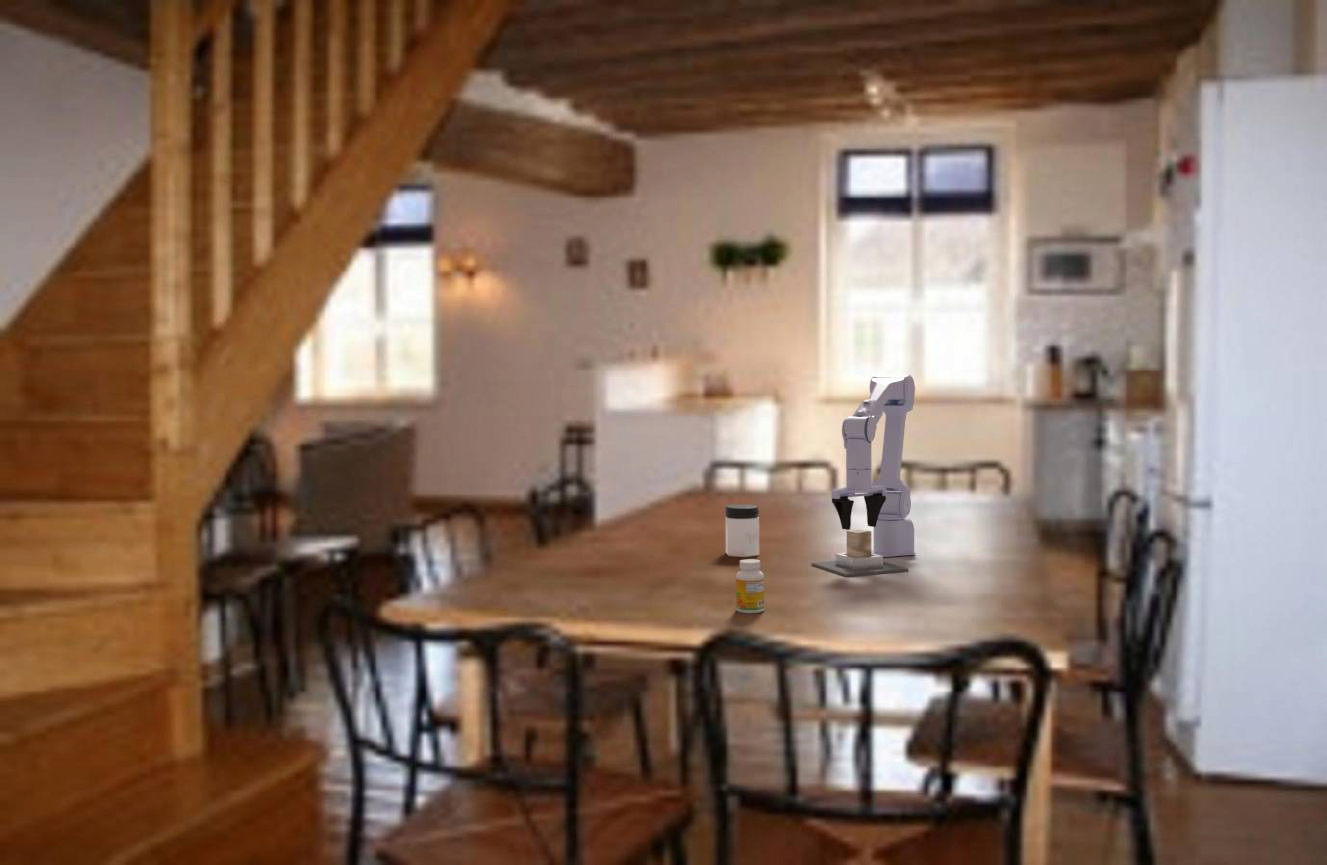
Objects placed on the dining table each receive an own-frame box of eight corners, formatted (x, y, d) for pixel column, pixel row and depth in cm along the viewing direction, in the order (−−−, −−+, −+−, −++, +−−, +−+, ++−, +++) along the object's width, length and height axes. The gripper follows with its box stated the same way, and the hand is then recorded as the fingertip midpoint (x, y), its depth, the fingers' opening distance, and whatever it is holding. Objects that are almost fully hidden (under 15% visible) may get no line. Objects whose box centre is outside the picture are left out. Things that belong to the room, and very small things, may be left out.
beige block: (860, 563, 271) (860, 529, 270) (871, 565, 267) (871, 531, 267) (846, 565, 269) (846, 530, 268) (857, 567, 265) (857, 532, 265)
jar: (738, 558, 283) (737, 509, 283) (718, 553, 290) (717, 506, 289) (766, 554, 288) (766, 506, 287) (746, 550, 295) (746, 503, 294)
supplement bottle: (734, 608, 227) (733, 558, 227) (761, 607, 228) (761, 557, 227) (738, 614, 222) (738, 563, 221) (766, 613, 222) (766, 562, 222)
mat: (871, 560, 278) (870, 557, 278) (908, 571, 263) (908, 568, 263) (811, 565, 273) (811, 562, 272) (846, 576, 258) (846, 574, 258)
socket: (865, 561, 273) (865, 550, 273) (882, 566, 266) (882, 556, 266) (835, 564, 270) (835, 553, 270) (853, 569, 263) (853, 558, 263)
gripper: (871, 465, 274) (872, 523, 274) (822, 469, 266) (823, 528, 267) (892, 467, 268) (892, 526, 268) (842, 471, 260) (842, 532, 261)
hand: (859, 527), depth 267 cm, fingers open, 7 cm apart
